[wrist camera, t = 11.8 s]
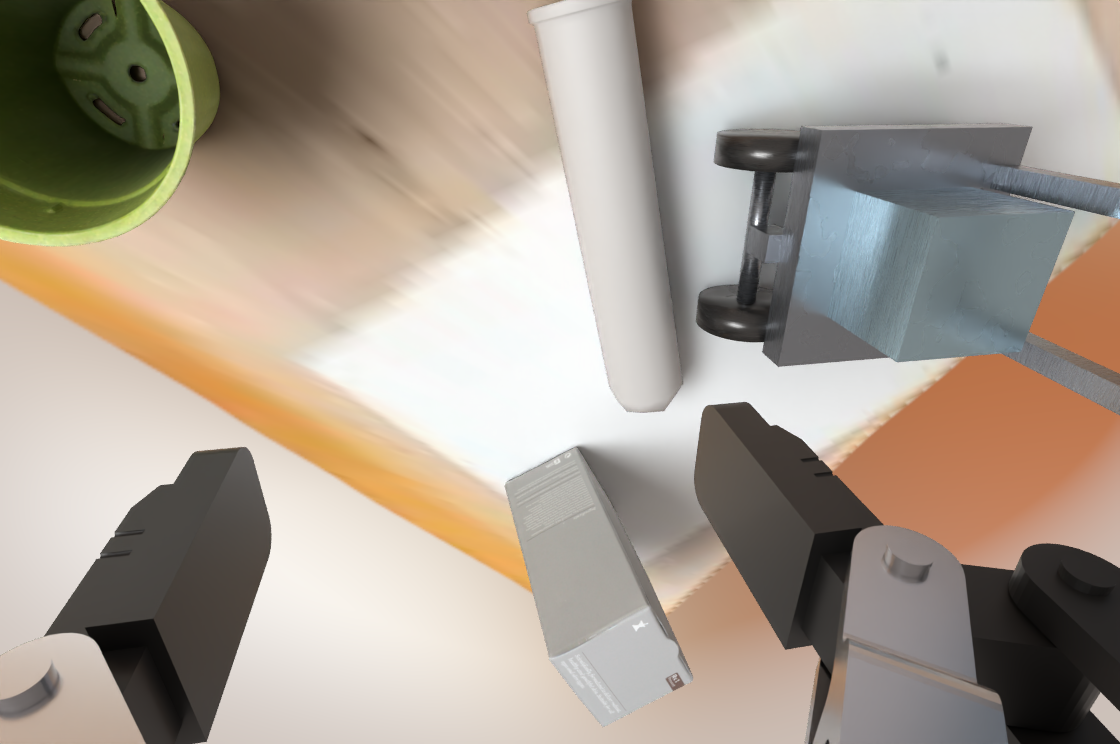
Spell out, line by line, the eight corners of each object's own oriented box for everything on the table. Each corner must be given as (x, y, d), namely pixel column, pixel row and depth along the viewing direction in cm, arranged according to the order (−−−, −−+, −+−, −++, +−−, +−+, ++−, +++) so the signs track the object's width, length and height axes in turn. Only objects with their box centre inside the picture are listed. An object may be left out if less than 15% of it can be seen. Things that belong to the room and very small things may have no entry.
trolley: (702, 117, 36) (995, 181, 17) (966, 114, 39) (1467, 166, 20) (681, 319, 42) (882, 532, 23) (912, 303, 45) (1259, 482, 26)
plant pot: (291, -1, 30) (222, -30, 20) (244, 222, 35) (167, 288, 25) (6, -130, 26) (-250, -242, 17) (-8, 140, 31) (-217, 178, 21)
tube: (703, 404, 41) (653, -22, 29) (640, 439, 40) (558, 1, 27) (656, 376, 46) (594, -5, 33) (597, 406, 44) (509, 15, 32)
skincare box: (501, 480, 46) (530, 662, 32) (586, 438, 45) (652, 604, 32) (549, 550, 50) (592, 739, 36) (627, 512, 50) (701, 688, 36)
